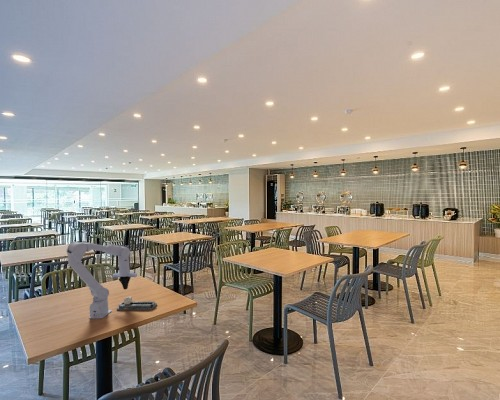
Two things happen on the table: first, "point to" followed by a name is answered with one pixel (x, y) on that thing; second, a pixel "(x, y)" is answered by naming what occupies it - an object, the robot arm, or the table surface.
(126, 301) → the fader knob
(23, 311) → the table surface
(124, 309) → the console
